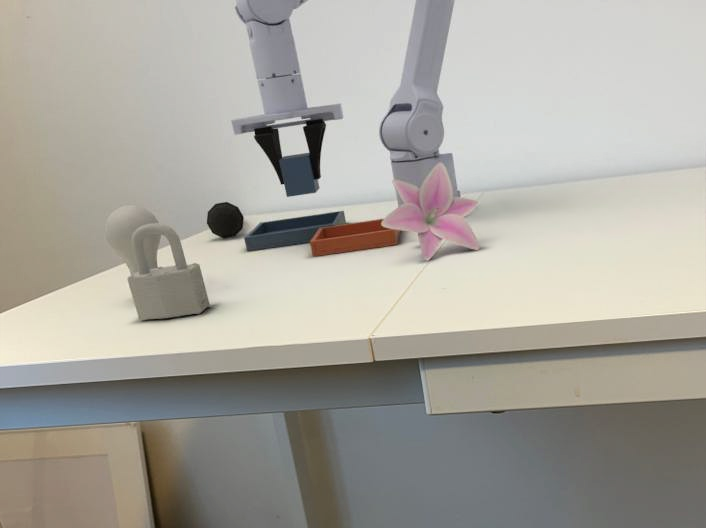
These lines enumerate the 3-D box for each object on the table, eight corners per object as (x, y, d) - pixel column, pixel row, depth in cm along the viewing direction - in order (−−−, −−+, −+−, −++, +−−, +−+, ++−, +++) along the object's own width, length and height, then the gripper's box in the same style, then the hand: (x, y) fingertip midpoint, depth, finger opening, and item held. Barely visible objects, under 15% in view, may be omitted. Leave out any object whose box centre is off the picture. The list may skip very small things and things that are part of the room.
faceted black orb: (230, 238, 145) (217, 245, 125) (213, 209, 143) (197, 212, 124) (257, 223, 145) (248, 229, 126) (241, 194, 144) (229, 195, 124)
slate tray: (346, 223, 126) (343, 210, 125) (338, 238, 115) (335, 224, 115) (262, 235, 126) (260, 222, 125) (247, 251, 116) (243, 237, 115)
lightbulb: (134, 293, 100) (108, 205, 96) (183, 285, 100) (159, 197, 97) (118, 307, 95) (90, 214, 91) (170, 299, 95) (144, 206, 91)
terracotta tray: (399, 230, 114) (397, 216, 114) (396, 244, 106) (394, 229, 105) (322, 241, 115) (319, 227, 114) (312, 256, 106) (309, 241, 105)
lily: (373, 274, 96) (383, 207, 90) (382, 218, 105) (392, 153, 98) (472, 290, 98) (488, 225, 91) (473, 233, 106) (488, 170, 100)
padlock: (136, 323, 87) (109, 231, 83) (152, 311, 90) (127, 223, 87) (199, 315, 86) (174, 223, 82) (212, 304, 90) (189, 215, 86)
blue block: (319, 188, 113) (312, 152, 111) (315, 192, 109) (308, 155, 107) (291, 192, 113) (283, 156, 111) (286, 197, 109) (278, 159, 107)
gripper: (217, 86, 102) (242, 193, 107) (330, 69, 102) (350, 177, 107) (230, 84, 109) (253, 185, 113) (336, 68, 109) (354, 170, 113)
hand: (300, 181), depth 111 cm, fingers closed on blue block, 4 cm apart
